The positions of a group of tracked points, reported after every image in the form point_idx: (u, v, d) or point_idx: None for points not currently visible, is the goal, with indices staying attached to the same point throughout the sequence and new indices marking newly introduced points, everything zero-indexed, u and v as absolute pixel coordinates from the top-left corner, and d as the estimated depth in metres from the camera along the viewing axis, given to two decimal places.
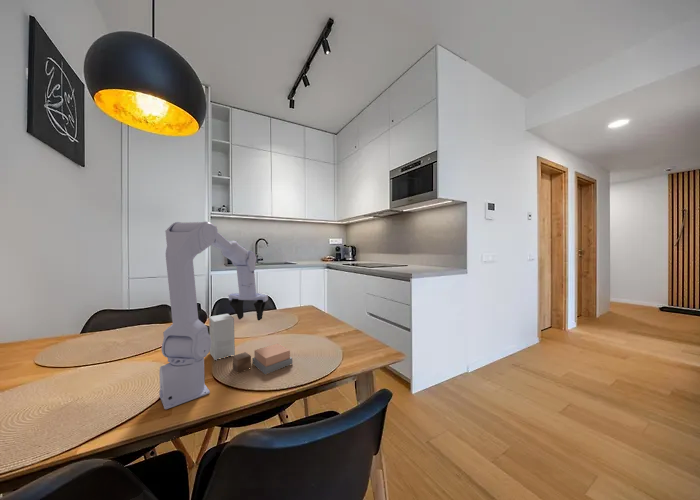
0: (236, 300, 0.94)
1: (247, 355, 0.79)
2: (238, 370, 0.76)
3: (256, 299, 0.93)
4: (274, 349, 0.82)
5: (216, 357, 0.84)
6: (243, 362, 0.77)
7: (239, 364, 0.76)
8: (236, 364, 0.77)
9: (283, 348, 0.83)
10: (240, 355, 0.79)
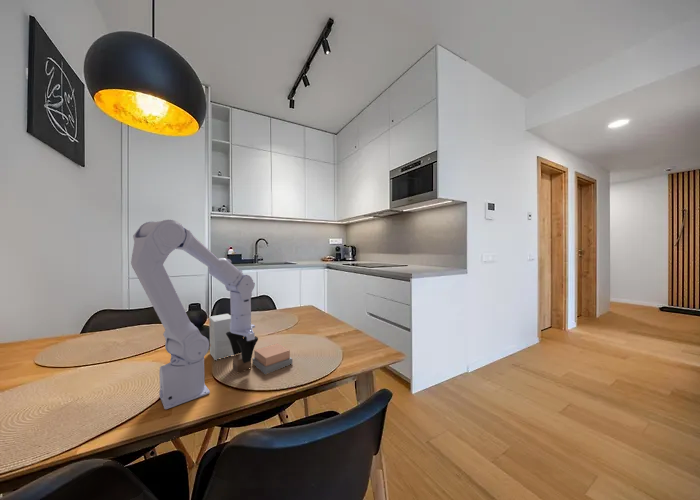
0: None
1: None
2: (238, 370, 0.76)
3: (244, 335, 0.76)
4: (274, 349, 0.82)
5: (216, 357, 0.84)
6: (243, 362, 0.77)
7: (239, 364, 0.76)
8: (236, 364, 0.77)
9: (283, 348, 0.83)
10: (240, 355, 0.79)
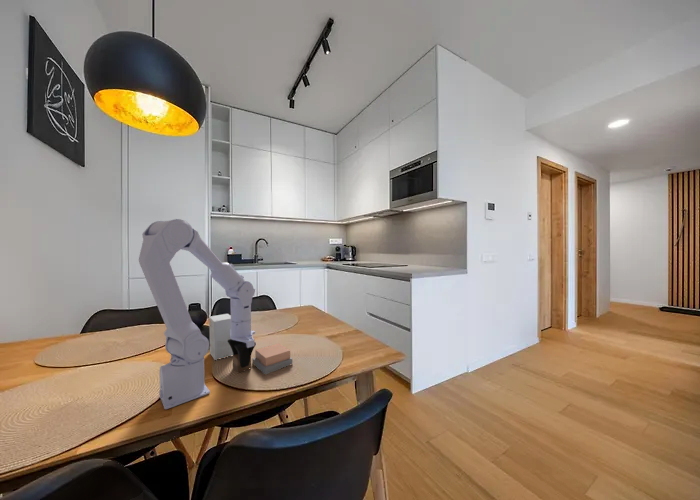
0: None
1: None
2: (238, 370, 0.76)
3: None
4: (275, 349, 0.82)
5: (216, 357, 0.84)
6: None
7: (239, 364, 0.76)
8: (236, 364, 0.77)
9: (284, 348, 0.83)
10: None
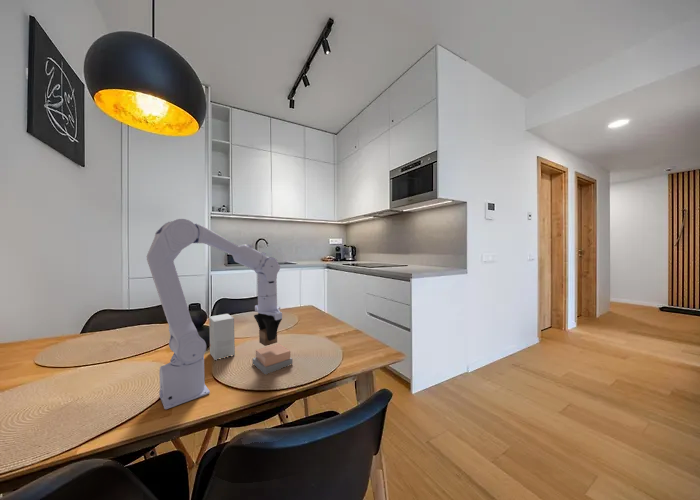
0: (259, 312, 0.83)
1: None
2: (265, 343, 0.78)
3: (271, 315, 0.78)
4: (275, 349, 0.82)
5: (216, 357, 0.84)
6: None
7: (266, 337, 0.79)
8: (263, 337, 0.79)
9: (284, 348, 0.83)
10: None
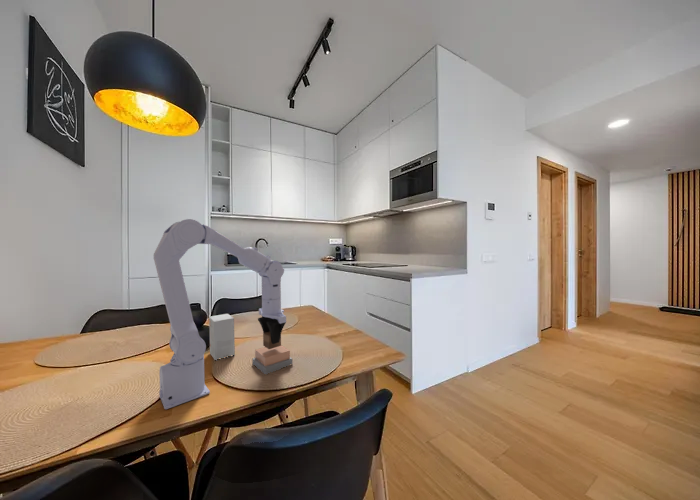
0: (262, 316, 0.84)
1: None
2: (269, 346, 0.79)
3: (275, 319, 0.78)
4: (274, 349, 0.82)
5: (216, 357, 0.84)
6: None
7: (270, 341, 0.79)
8: (267, 340, 0.79)
9: (283, 348, 0.83)
10: None
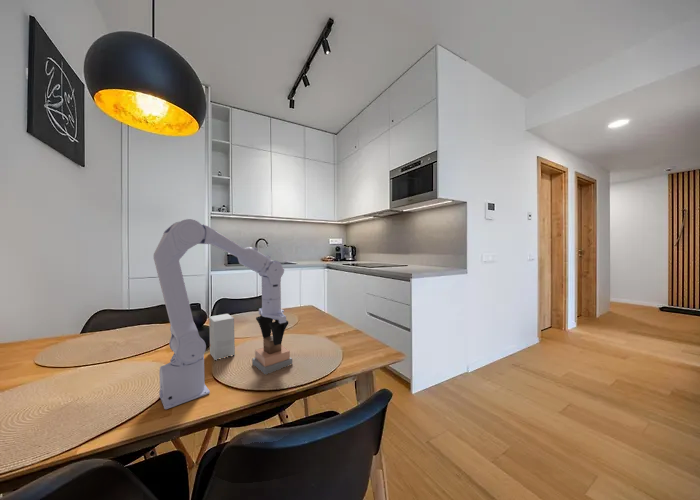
0: (263, 316, 0.84)
1: None
2: (270, 351, 0.79)
3: (275, 319, 0.78)
4: None
5: (216, 357, 0.84)
6: None
7: (271, 346, 0.79)
8: (268, 345, 0.79)
9: (283, 348, 0.83)
10: (270, 337, 0.81)
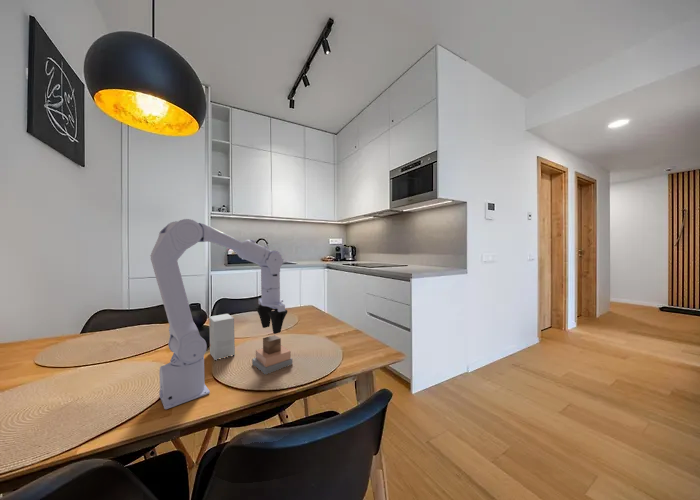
0: (262, 305, 0.85)
1: (277, 337, 0.81)
2: (269, 351, 0.79)
3: (274, 308, 0.80)
4: None
5: (216, 357, 0.84)
6: (273, 344, 0.80)
7: (270, 346, 0.79)
8: (267, 346, 0.79)
9: (284, 349, 0.83)
10: (270, 337, 0.82)
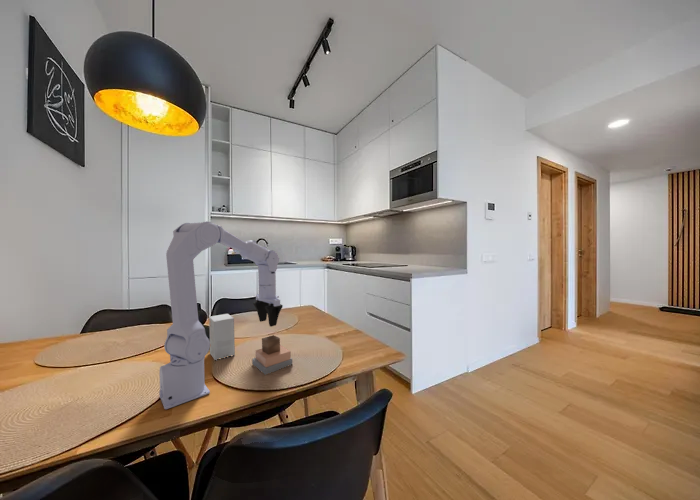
0: (259, 301, 0.92)
1: (276, 337, 0.81)
2: (268, 351, 0.78)
3: (271, 302, 0.87)
4: None
5: (216, 357, 0.84)
6: (273, 344, 0.79)
7: (269, 346, 0.78)
8: (266, 346, 0.79)
9: (284, 349, 0.82)
10: (269, 338, 0.81)
